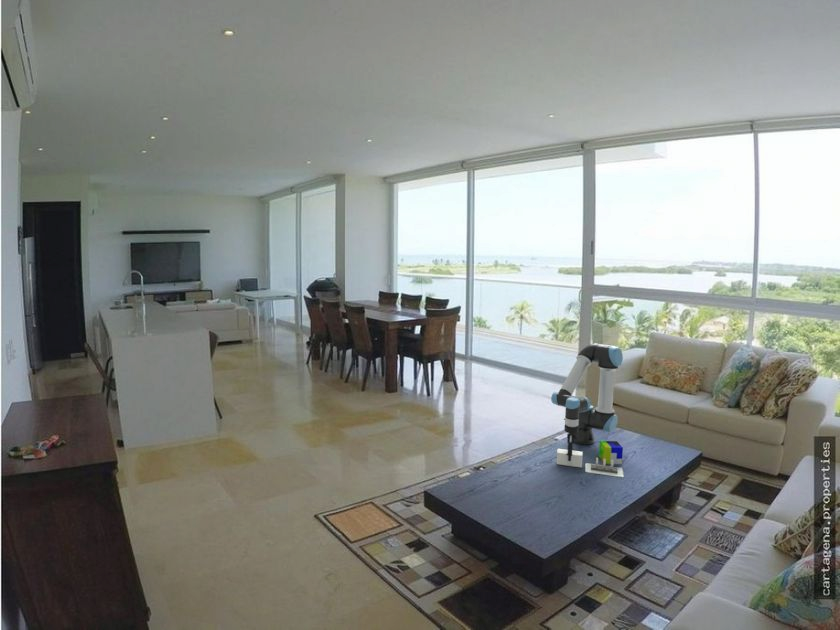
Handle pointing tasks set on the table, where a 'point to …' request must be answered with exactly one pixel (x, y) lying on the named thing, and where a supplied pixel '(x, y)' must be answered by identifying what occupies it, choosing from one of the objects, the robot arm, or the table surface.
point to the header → (604, 469)
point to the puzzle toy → (611, 452)
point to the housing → (576, 457)
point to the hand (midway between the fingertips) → (569, 463)
